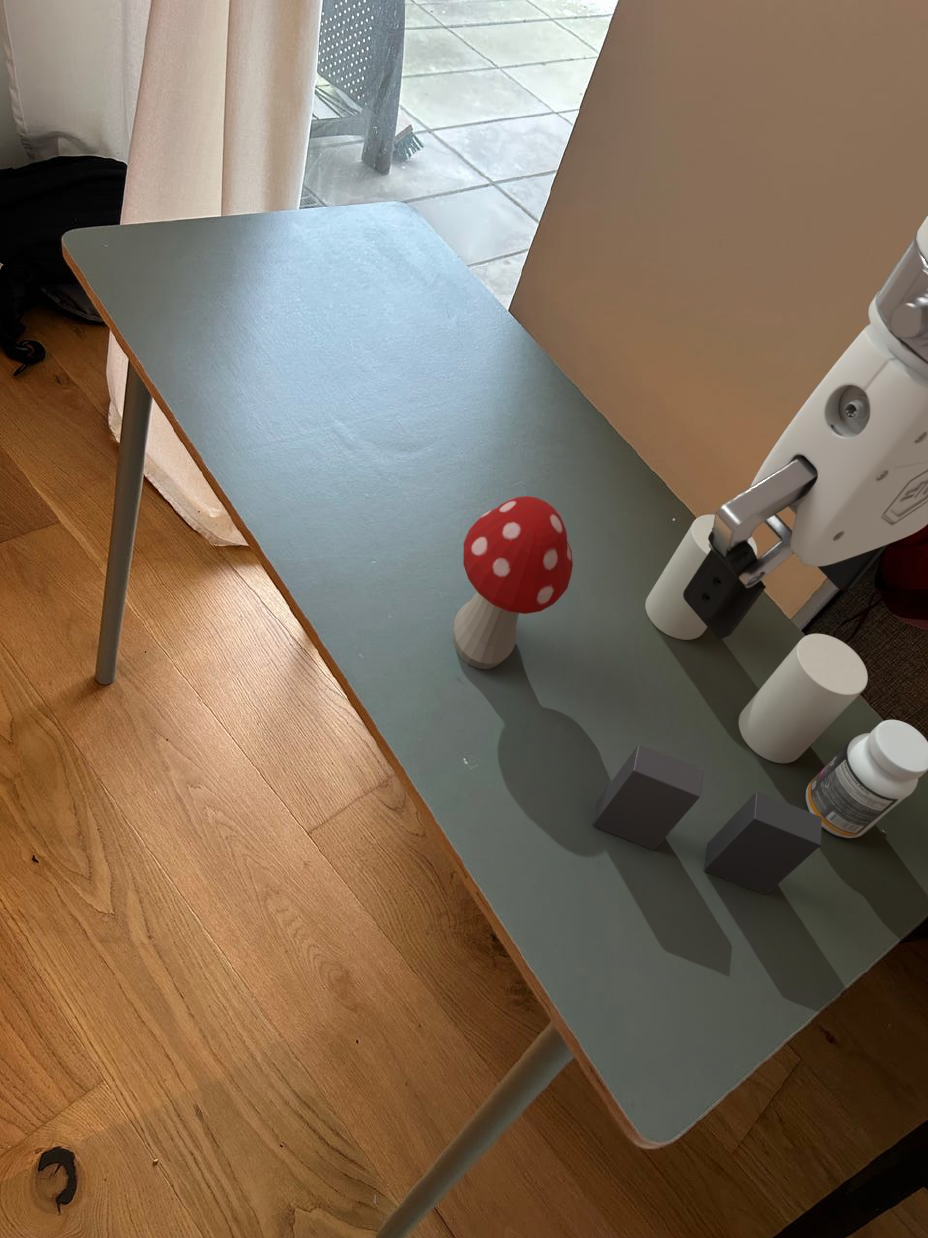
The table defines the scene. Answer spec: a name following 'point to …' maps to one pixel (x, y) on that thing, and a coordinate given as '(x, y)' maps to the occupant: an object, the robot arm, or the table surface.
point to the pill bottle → (868, 778)
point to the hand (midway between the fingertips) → (768, 593)
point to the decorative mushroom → (510, 576)
